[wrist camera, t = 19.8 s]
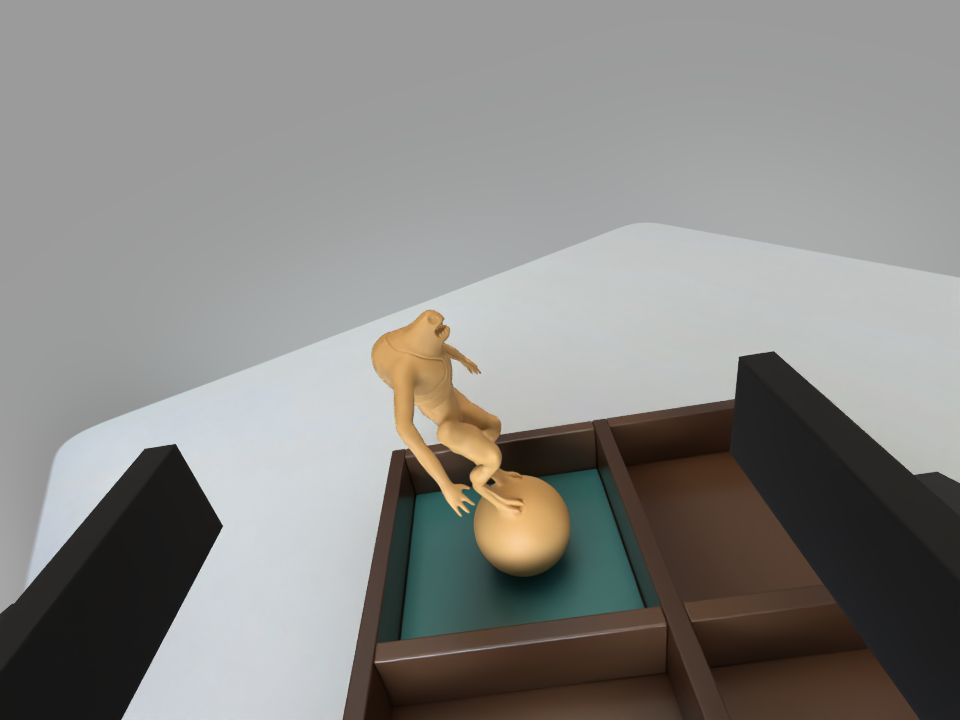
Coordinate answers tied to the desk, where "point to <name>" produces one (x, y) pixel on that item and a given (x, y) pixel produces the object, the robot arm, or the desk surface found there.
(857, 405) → the desk surface
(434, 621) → the divided tray
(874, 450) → the robot arm
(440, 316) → the figurine
